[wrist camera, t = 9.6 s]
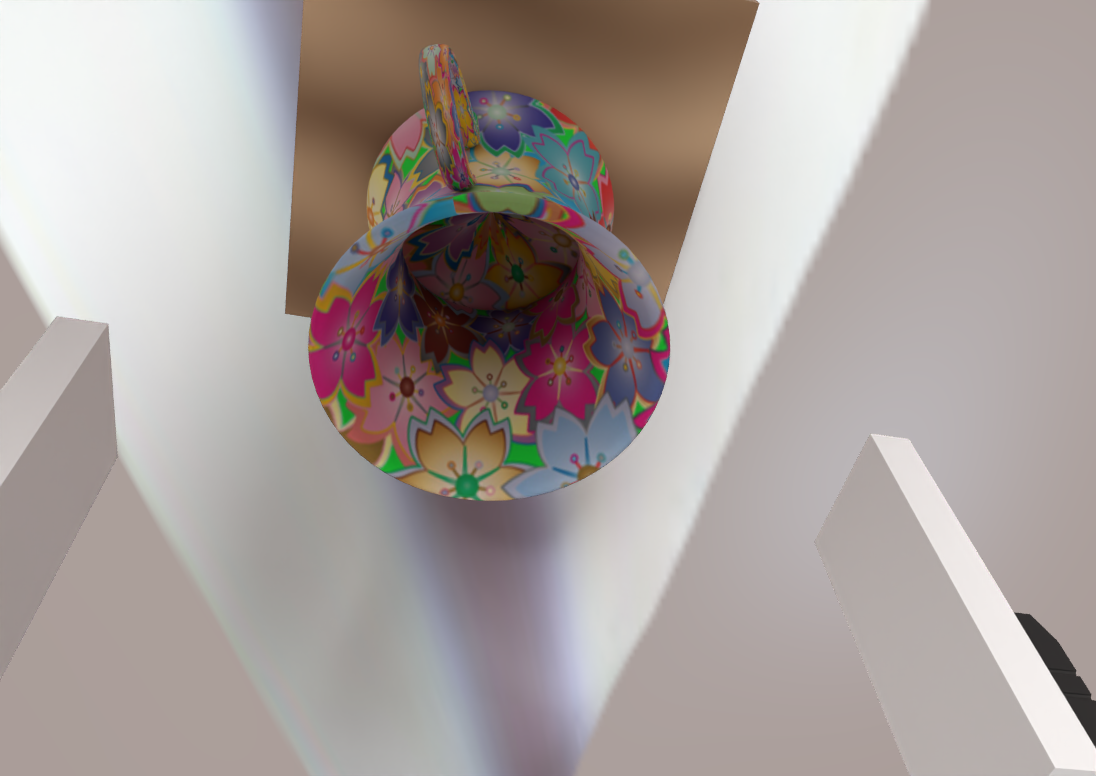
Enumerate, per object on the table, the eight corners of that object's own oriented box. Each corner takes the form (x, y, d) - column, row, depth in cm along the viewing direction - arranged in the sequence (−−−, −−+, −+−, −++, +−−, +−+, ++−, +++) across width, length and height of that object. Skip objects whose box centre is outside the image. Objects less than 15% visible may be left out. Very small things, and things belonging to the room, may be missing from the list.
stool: (343, -123, 33) (309, -98, 27) (712, -39, 35) (759, 3, 29) (316, 230, 40) (285, 313, 34) (621, 281, 43) (642, 368, 36)
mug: (634, 296, 35) (683, 476, 26) (395, 335, 35) (363, 525, 26) (595, -45, 28) (643, 42, 19) (299, 8, 28) (212, 118, 20)
